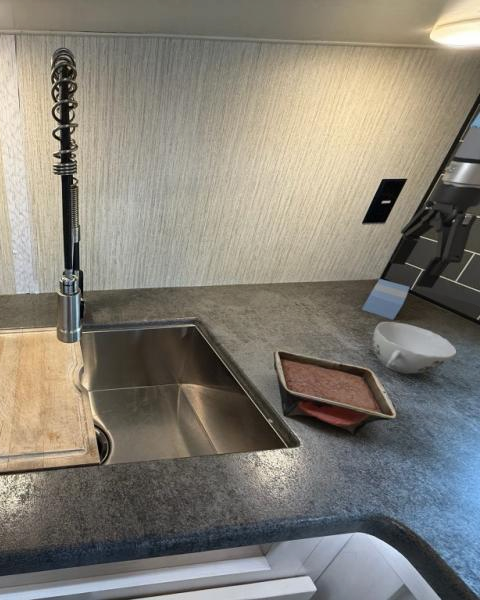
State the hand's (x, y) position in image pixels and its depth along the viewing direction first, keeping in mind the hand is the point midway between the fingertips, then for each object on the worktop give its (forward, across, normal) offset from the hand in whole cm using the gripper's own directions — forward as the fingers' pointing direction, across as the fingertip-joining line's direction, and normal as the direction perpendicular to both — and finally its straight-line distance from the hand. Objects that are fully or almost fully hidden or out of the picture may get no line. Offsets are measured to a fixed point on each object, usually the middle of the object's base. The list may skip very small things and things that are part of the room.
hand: (409, 274), depth 77 cm
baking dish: (+15, +39, -23) cm, 47 cm away
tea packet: (+15, -12, +4) cm, 19 cm away
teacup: (+15, +20, -4) cm, 25 cm away
